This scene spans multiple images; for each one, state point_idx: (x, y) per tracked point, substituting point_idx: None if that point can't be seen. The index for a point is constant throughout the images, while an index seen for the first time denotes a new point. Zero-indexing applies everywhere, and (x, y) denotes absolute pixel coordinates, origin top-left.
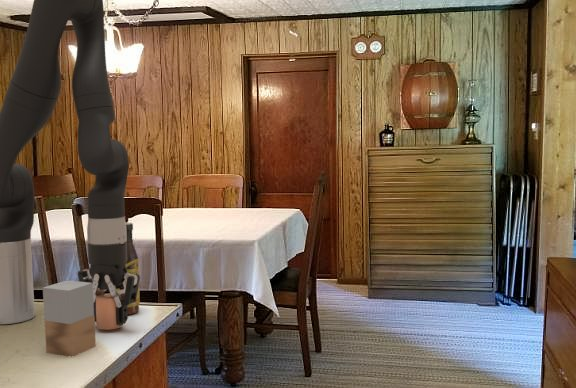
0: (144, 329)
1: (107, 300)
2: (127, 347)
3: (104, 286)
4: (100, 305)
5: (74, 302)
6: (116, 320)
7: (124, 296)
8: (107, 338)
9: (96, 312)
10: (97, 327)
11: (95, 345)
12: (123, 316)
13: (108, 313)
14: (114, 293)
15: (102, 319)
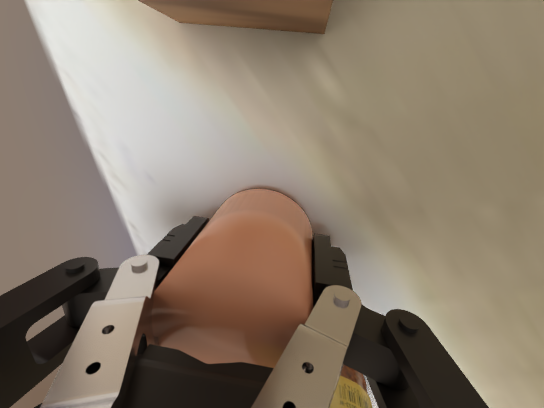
0: None
1: (183, 268)
2: (58, 56)
3: (203, 389)
4: (242, 244)
5: None
6: (199, 224)
7: (52, 296)
8: (203, 132)
9: (290, 235)
10: (288, 198)
11: (177, 20)
12: (163, 239)
13: (211, 225)
14: (103, 309)
15: (249, 206)
